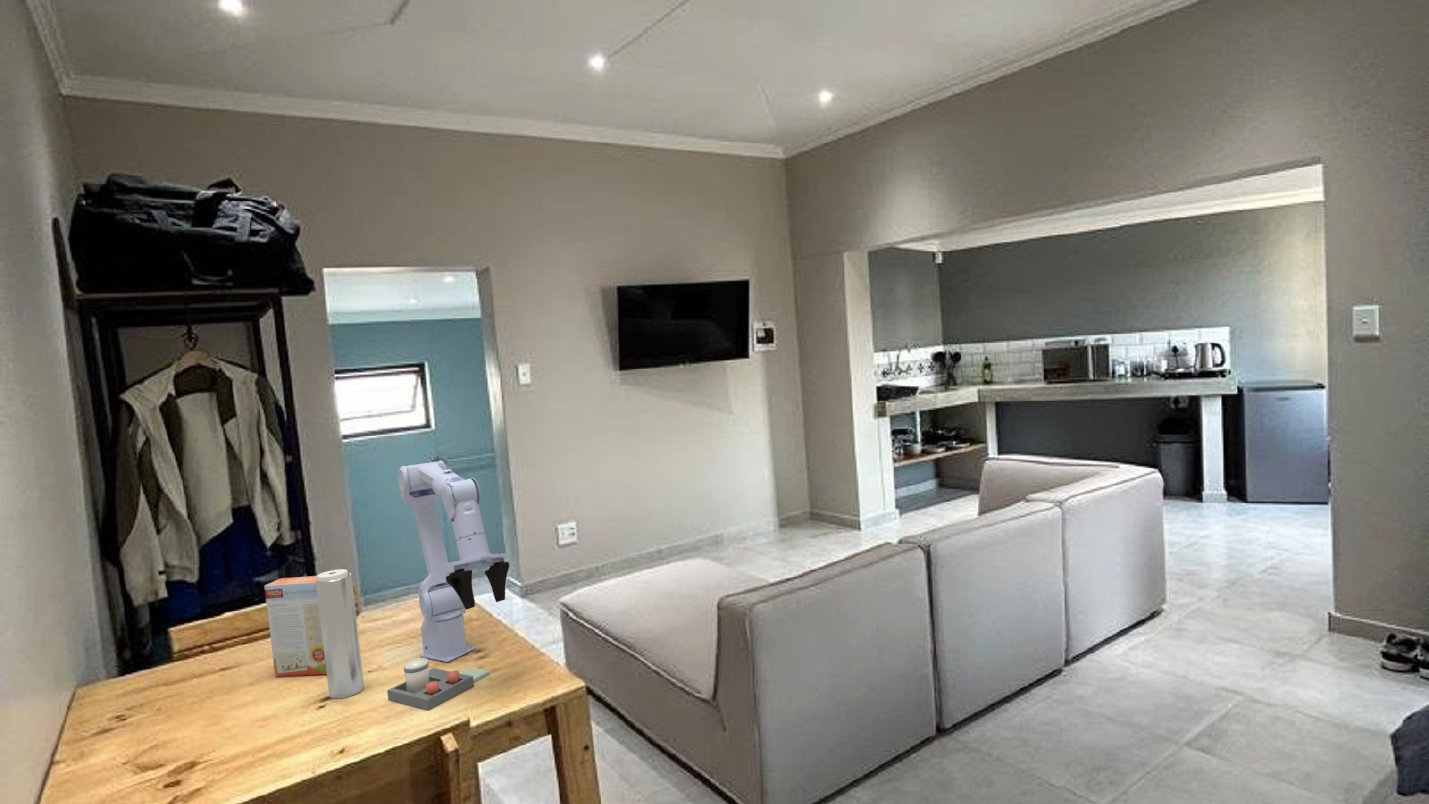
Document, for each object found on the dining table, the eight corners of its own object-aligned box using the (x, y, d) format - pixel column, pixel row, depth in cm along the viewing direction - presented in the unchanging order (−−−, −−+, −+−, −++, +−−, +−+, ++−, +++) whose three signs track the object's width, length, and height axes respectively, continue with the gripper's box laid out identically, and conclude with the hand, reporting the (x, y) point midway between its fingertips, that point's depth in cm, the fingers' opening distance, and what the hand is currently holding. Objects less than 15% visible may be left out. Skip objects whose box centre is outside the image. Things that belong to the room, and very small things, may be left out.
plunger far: (445, 684, 148) (444, 674, 148) (454, 679, 150) (453, 670, 150) (453, 686, 147) (452, 676, 147) (462, 681, 149) (461, 671, 149)
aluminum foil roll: (350, 699, 149) (335, 576, 147) (321, 698, 150) (307, 577, 149) (371, 684, 155) (357, 567, 154) (344, 684, 156) (330, 568, 155)
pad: (451, 680, 154) (451, 677, 154) (471, 670, 158) (470, 667, 158) (470, 684, 151) (469, 681, 151) (489, 673, 155) (489, 671, 155)
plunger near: (424, 695, 144) (423, 685, 144) (434, 690, 146) (433, 680, 145) (432, 697, 143) (431, 686, 142) (441, 692, 144) (440, 682, 144)
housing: (388, 700, 147) (387, 690, 147) (434, 677, 156) (433, 668, 156) (428, 710, 140) (427, 700, 140) (473, 686, 150) (472, 676, 150)
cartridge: (401, 697, 148) (398, 665, 147) (421, 687, 152) (418, 656, 151) (416, 700, 145) (413, 668, 145) (436, 690, 149) (433, 659, 149)
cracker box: (349, 663, 168) (339, 573, 167) (333, 675, 162) (322, 581, 161) (292, 666, 169) (281, 576, 168) (274, 677, 163) (262, 584, 162)
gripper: (453, 536, 142) (469, 606, 139) (511, 528, 154) (526, 592, 151) (430, 546, 145) (445, 615, 142) (489, 537, 157) (503, 601, 154)
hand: (485, 604), depth 147 cm, fingers open, 7 cm apart
